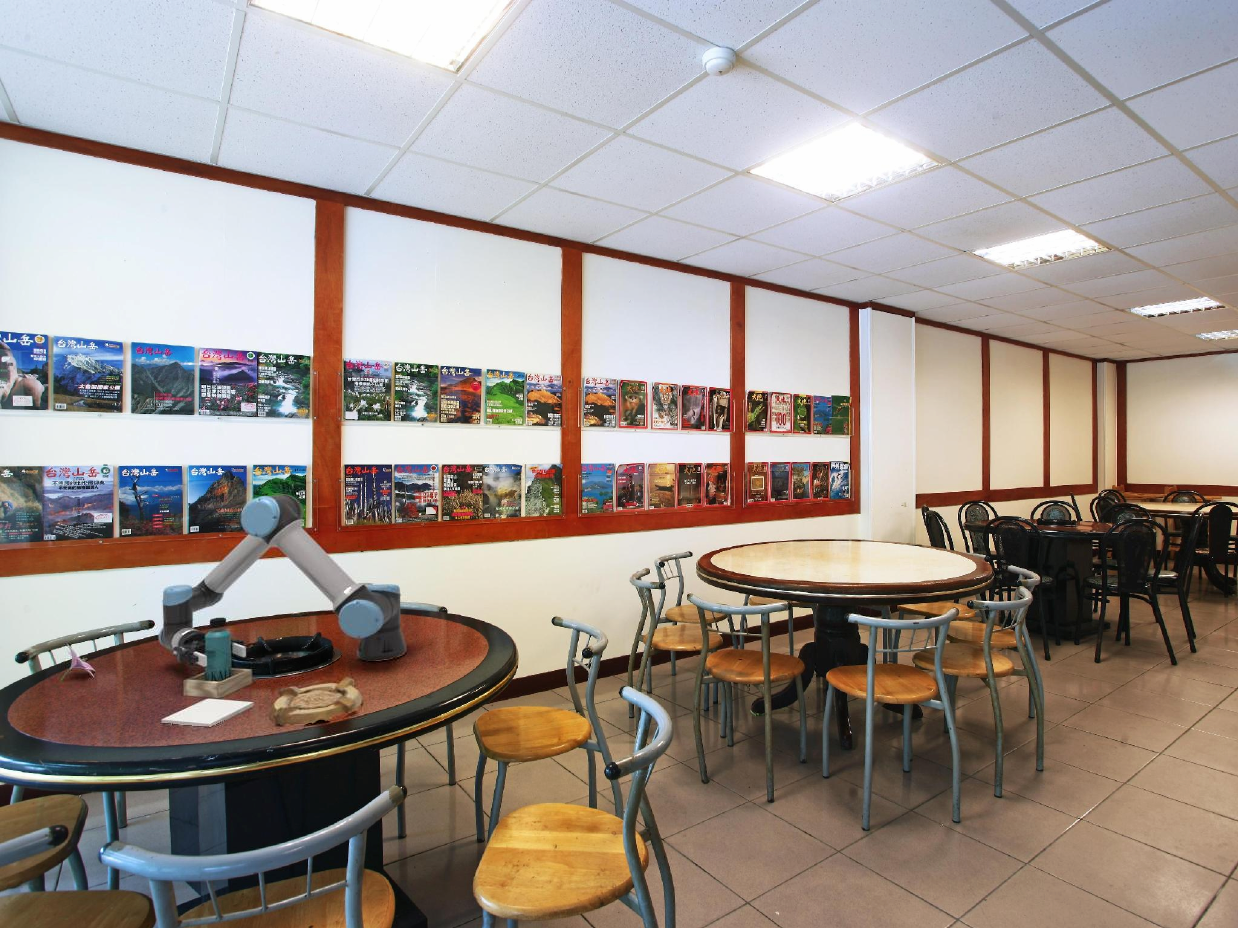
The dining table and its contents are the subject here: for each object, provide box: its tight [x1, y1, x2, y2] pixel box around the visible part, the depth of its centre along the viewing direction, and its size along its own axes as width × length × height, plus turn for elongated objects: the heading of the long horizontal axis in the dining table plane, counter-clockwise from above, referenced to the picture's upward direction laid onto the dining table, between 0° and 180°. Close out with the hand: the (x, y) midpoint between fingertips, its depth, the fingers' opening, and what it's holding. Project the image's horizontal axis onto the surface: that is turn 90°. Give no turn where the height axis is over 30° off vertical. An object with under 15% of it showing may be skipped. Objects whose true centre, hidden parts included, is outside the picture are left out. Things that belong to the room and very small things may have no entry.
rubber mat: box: [161, 698, 254, 728], centre depth 167 cm, size 14×14×1 cm
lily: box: [60, 644, 96, 682], centre depth 195 cm, size 12×12×10 cm
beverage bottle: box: [204, 616, 233, 682], centre depth 185 cm, size 6×7×20 cm
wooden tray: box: [183, 667, 253, 699], centre depth 185 cm, size 12×12×4 cm
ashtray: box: [268, 676, 363, 726], centre depth 171 cm, size 24×24×5 cm
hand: (225, 656), depth 182 cm, fingers open, 9 cm apart
